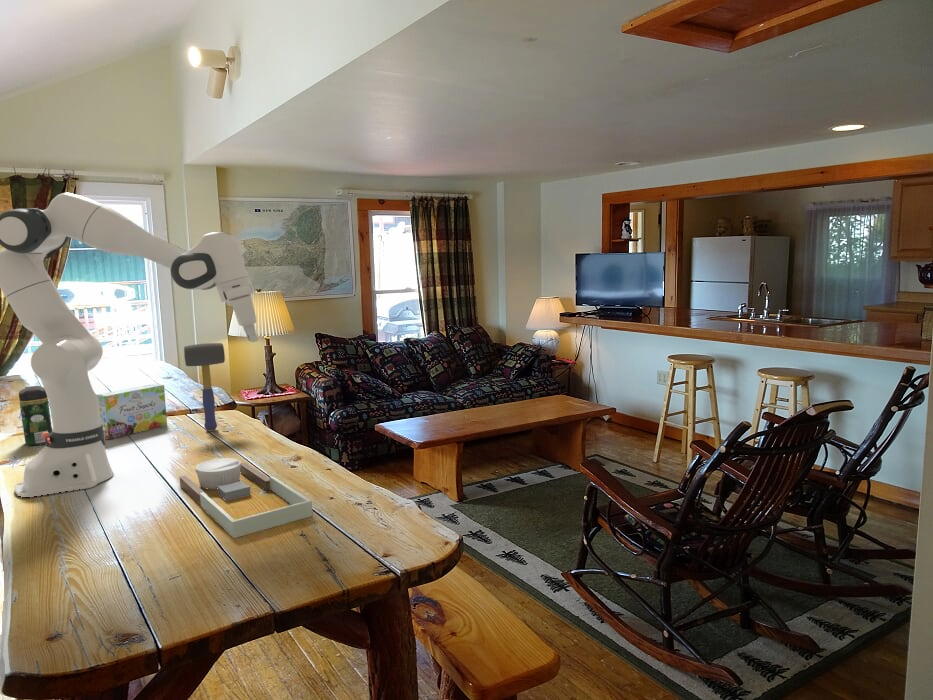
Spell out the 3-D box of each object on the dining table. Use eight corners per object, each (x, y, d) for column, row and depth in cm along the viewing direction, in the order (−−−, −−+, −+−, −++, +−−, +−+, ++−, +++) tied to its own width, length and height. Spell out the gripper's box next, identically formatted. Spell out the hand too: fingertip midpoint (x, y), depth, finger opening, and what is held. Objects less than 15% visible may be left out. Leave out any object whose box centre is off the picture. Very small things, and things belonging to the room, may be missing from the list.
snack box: (109, 440, 217) (104, 395, 215) (100, 438, 220) (95, 394, 218) (168, 425, 235) (164, 383, 232) (159, 423, 237) (154, 382, 235)
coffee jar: (24, 441, 219) (17, 386, 216) (53, 437, 223) (46, 383, 221) (24, 447, 211) (17, 390, 208) (54, 443, 215) (47, 387, 213)
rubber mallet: (192, 436, 219) (184, 346, 215) (190, 430, 226) (182, 343, 221) (231, 430, 224) (224, 343, 220) (229, 425, 231) (221, 340, 227)
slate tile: (226, 502, 159) (225, 492, 158) (218, 496, 163) (217, 486, 163) (250, 496, 162) (249, 486, 162) (242, 490, 167) (241, 480, 166)
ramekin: (233, 491, 166) (231, 470, 165) (189, 492, 166) (187, 471, 165) (248, 476, 177) (247, 457, 176) (207, 477, 177) (205, 458, 176)
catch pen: (233, 538, 137) (232, 522, 137) (201, 507, 155) (199, 492, 154) (312, 515, 148) (311, 500, 147) (273, 489, 166) (272, 475, 165)
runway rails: (202, 506, 155) (201, 496, 155) (180, 486, 170) (179, 476, 170) (272, 489, 165) (271, 480, 165) (245, 471, 180) (245, 462, 180)
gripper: (223, 295, 184) (239, 343, 186) (225, 293, 165) (243, 346, 167) (246, 289, 186) (261, 336, 188) (250, 286, 167) (268, 338, 169)
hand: (253, 340), depth 178 cm, fingers open, 8 cm apart
